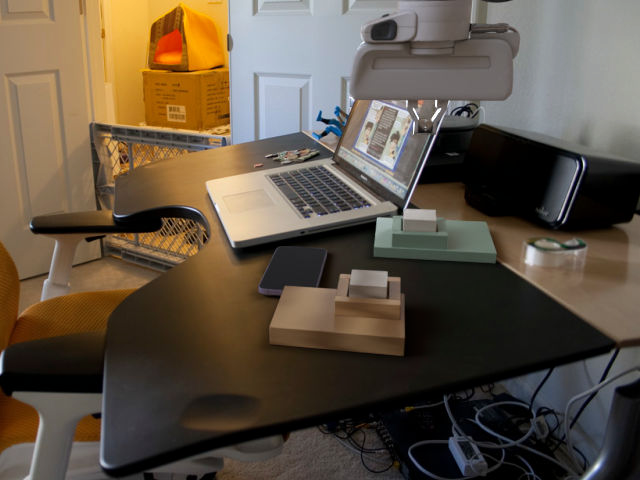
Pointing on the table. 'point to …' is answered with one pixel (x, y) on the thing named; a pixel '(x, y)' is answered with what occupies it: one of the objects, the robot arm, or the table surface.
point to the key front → (368, 284)
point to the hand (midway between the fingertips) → (424, 133)
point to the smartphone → (293, 269)
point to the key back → (419, 220)
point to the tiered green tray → (435, 241)
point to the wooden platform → (340, 319)
